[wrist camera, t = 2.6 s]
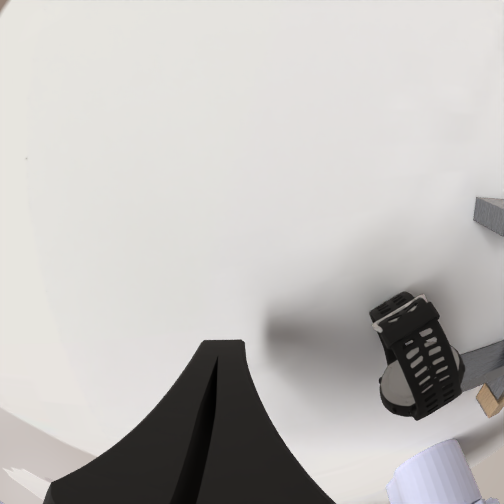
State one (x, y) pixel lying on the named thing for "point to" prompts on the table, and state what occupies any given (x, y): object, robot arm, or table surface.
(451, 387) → the smartwatch
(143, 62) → the table surface
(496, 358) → the bracket
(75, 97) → the table surface
